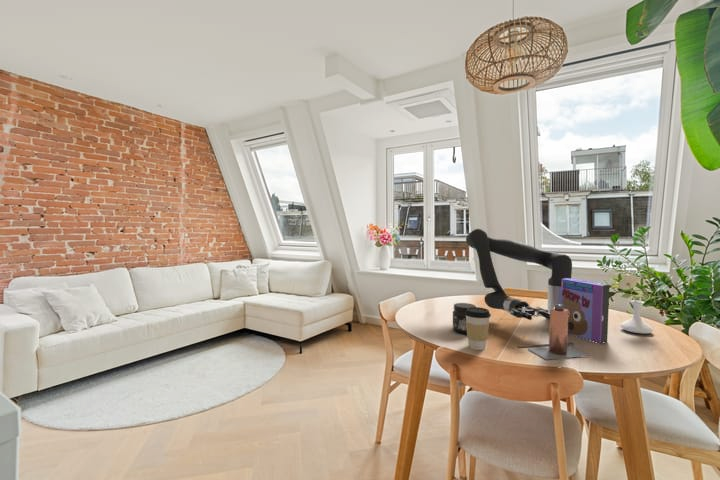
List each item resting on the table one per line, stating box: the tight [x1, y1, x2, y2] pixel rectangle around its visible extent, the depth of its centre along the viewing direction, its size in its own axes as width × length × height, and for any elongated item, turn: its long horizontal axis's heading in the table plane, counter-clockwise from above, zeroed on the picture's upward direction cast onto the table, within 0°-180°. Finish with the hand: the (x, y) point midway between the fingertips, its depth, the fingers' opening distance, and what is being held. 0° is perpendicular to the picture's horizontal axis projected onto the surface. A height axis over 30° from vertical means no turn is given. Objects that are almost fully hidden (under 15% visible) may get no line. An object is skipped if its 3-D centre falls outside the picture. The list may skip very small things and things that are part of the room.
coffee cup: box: [464, 306, 492, 351], centre depth 137 cm, size 10×10×15 cm
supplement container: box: [452, 302, 477, 336], centre depth 156 cm, size 10×10×12 cm
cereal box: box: [561, 278, 610, 344], centre depth 149 cm, size 17×5×24 cm, turn 23°
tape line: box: [516, 342, 574, 349], centre depth 139 cm, size 24×1×1 cm, turn 99°
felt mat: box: [527, 345, 590, 361], centre depth 131 cm, size 18×10×1 cm, turn 99°
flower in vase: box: [617, 275, 654, 335], centre depth 156 cm, size 13×11×25 cm
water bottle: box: [548, 304, 569, 355], centre depth 131 cm, size 6×6×18 cm
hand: (540, 317), depth 141 cm, fingers open, 8 cm apart
